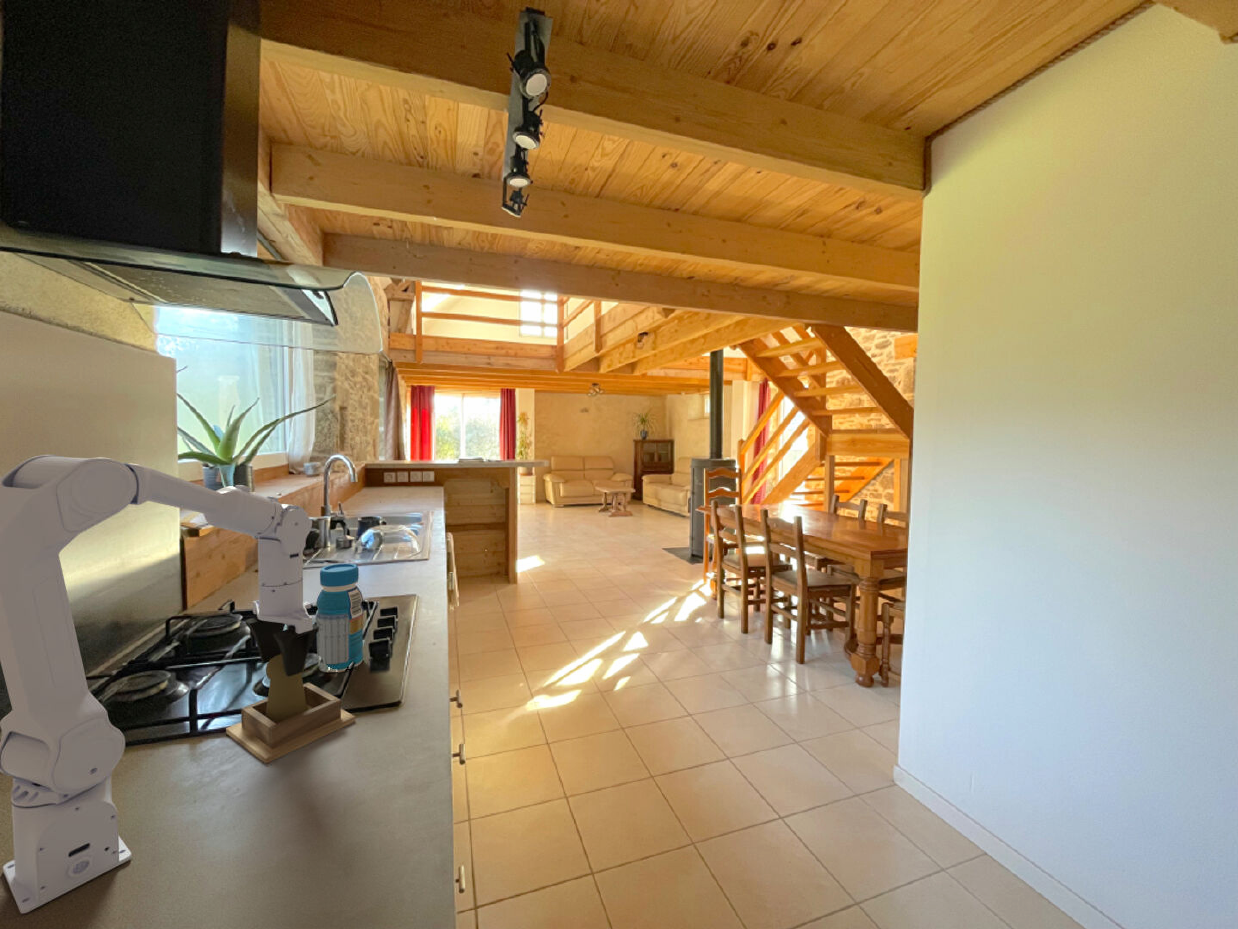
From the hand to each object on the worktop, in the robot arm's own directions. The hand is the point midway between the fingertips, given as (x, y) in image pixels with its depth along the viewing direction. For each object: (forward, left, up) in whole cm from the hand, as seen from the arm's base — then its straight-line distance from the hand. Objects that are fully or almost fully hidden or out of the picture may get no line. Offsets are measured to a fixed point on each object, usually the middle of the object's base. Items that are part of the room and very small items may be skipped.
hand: (282, 667), depth 79 cm
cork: (0, -1, -10) cm, 10 cm away
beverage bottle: (+15, -17, -10) cm, 25 cm away
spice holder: (0, -1, -10) cm, 10 cm away
